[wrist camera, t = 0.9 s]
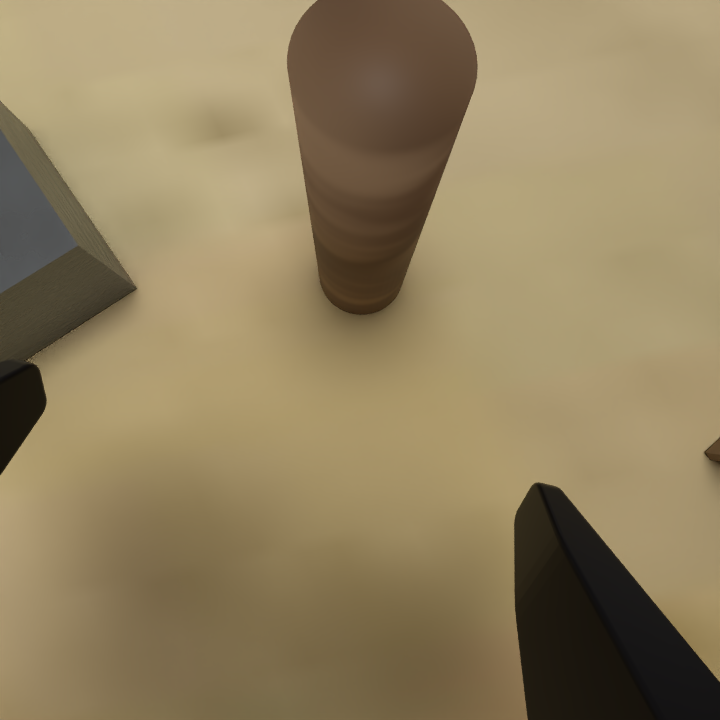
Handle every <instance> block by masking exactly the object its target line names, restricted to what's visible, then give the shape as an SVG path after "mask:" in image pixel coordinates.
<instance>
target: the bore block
mask: <svg viewBox="0 0 720 720" xmlns="http://www.w3.org/2000/svg"><path fill="white" fill-rule="evenodd" d="M135 289H137V288H136V286H135V285H134V283H133V282H132V280H131V279H130V277H129V276H128V274H127V273H126V271H125V270H124V268H123V267H122V265H121V264H120V263H119V261H118V260H117V258H116V257H115V255H114V254H113V252H112V251H111V249H110V248H109V246H108V245H107V243H106V242H105V240H104V239H103V238H102V236H101V235H100V233H99V232H98V230H97V229H96V227H95V226H94V224H93V223H92V221H91V220H90V218H89V217H88V215H87V214H86V212H85V211H84V210H83V208H82V207H81V205H80V204H79V202H78V201H77V199H76V198H75V196H74V195H73V193H72V192H71V190H70V189H69V187H68V186H67V185H66V183H65V182H64V180H63V179H62V177H61V176H60V174H59V173H58V171H57V170H56V168H55V167H54V165H53V164H52V162H51V161H50V159H49V158H48V157H47V155H46V154H45V152H44V151H43V149H42V148H41V146H40V145H39V143H38V142H37V140H36V139H35V137H34V136H33V134H32V133H31V132H30V130H29V129H28V128H27V127H26V126H25V125H24V124H23V123H22V122H21V121H20V120H19V119H18V118H17V117H16V116H15V115H14V114H13V113H12V112H11V111H10V110H9V109H8V108H7V107H6V106H5V105H4V104H3V103H2V102H1V101H0V362H2V361H5V360H9V359H16V360H20V361H24V360H26V359H28V358H29V357H31V356H32V355H34V354H35V353H37V352H38V351H40V350H42V349H43V348H45V347H46V346H48V345H49V344H51V343H52V342H54V341H56V340H57V339H59V338H60V337H62V336H63V335H65V334H66V333H68V332H70V331H71V330H73V329H74V328H76V327H77V326H79V325H81V324H82V323H84V322H85V321H87V320H88V319H90V318H91V317H93V316H95V315H96V314H98V313H99V312H101V311H102V310H104V309H105V308H107V307H109V306H110V305H112V304H113V303H115V302H116V301H118V300H119V299H121V298H123V297H124V296H126V295H127V294H129V293H130V292H132V291H133V290H135Z"/></svg>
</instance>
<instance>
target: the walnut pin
mask: <svg viewBox="0 0 720 720" xmlns="http://www.w3.org/2000/svg"><path fill="white" fill-rule="evenodd" d="M287 68H288V75H289V82H290V88H291V95H292V101H293V108H294V114H295V121H296V127H297V134H298V140H299V147H300V153H301V160H302V166H303V173H304V179H305V186H306V192H307V199H308V205H309V212H310V219H311V225H312V232H313V238H314V245H315V251H316V258H317V264H318V271H319V277H320V283H321V286H322V289H323V291H324V293H325V295H326V296H327V298H328V299H329V300H330V301H331V302H332V303H333V304H334V305H335V306H337V307H338V308H340V309H342V310H344V311H346V312H349V313H353V314H371V313H374V312H377V311H380V310H382V309H383V308H385V307H387V306H388V305H389V304H390V303H391V302H392V301H393V300H394V299H395V297H396V296H397V294H398V293H399V291H400V288H401V285H402V283H403V280H404V277H405V275H406V272H407V269H408V266H409V264H410V261H411V258H412V256H413V253H414V250H415V248H416V245H417V242H418V239H419V237H420V234H421V231H422V229H423V226H424V223H425V221H426V218H427V215H428V212H429V210H430V207H431V204H432V202H433V199H434V196H435V194H436V191H437V188H438V185H439V183H440V180H441V177H442V175H443V172H444V169H445V167H446V164H447V161H448V158H449V156H450V153H451V150H452V148H453V145H454V142H455V139H456V137H457V134H458V131H459V129H460V126H461V123H462V121H463V118H464V115H465V112H466V110H467V107H468V104H469V102H470V99H471V96H472V94H473V91H474V88H475V84H476V79H477V55H476V51H475V47H474V43H473V41H472V38H471V36H470V33H469V32H468V30H467V28H466V26H465V24H464V23H463V22H462V20H461V19H460V18H459V16H458V15H457V14H456V13H455V12H454V11H453V10H452V9H451V8H450V7H449V6H448V5H447V4H445V3H444V2H443V1H442V0H318V1H316V2H315V3H314V4H313V5H312V6H311V7H310V8H309V9H308V10H307V11H306V12H305V13H304V15H303V16H302V17H301V19H300V20H299V22H298V24H297V25H296V27H295V29H294V32H293V34H292V36H291V40H290V43H289V47H288V55H287Z"/></svg>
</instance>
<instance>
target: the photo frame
mask: <svg viewBox="0 0 720 720" xmlns="http://www.w3.org/2000/svg"><path fill="white" fill-rule="evenodd" d="M705 453H706V454H707V456H708V457H709V458H710V460H715V461H720V439H719V440H718V441H716V442H715V443H714V444H713V445H712V446H711V447H710V448H709V449H708V450H707V451H706V452H705Z"/></svg>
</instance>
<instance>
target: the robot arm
mask: <svg viewBox="0 0 720 720" xmlns="http://www.w3.org/2000/svg"><path fill="white" fill-rule="evenodd" d="M46 401H47V399H46V394H45V390H44V386H43V382H42V377H41V373H40V370H39V368H38V367H37V366H36V365H35V364H33V363H29V362H25V361H20V360H16V359H9V360H5V361H2V362H0V475H1V474H2V472H3V471H4V469H5V468H6V466H7V465H8V463H9V462H10V461H11V459H12V458H13V456H14V455H15V453H16V452H17V450H18V449H19V447H20V446H21V444H22V443H23V442H24V440H25V439H26V437H27V436H28V434H29V433H30V431H31V430H32V428H33V427H34V425H35V424H36V423H37V421H38V420H39V418H40V417H41V415H42V414H43V412H44V410H45V407H46ZM514 564H515V612H516V623H517V631H518V640H519V649H520V657H521V666H522V675H523V683H524V692H525V700H526V709H527V718H528V720H720V682H719V681H718V679H717V678H716V677H715V676H714V675H713V673H712V672H711V671H710V670H709V669H708V667H707V666H706V665H705V664H704V662H703V661H702V660H701V659H700V658H699V656H698V655H697V654H696V653H695V652H694V650H693V649H692V648H691V647H690V645H689V644H688V643H687V642H686V641H685V639H684V638H683V637H682V636H681V635H680V633H679V632H678V631H677V630H676V628H675V627H674V626H673V625H672V624H671V622H670V621H669V620H668V619H667V618H666V616H665V615H664V614H663V613H662V611H661V610H660V609H659V608H658V607H657V605H656V604H655V603H654V602H653V601H652V599H651V598H650V597H649V596H648V594H647V593H646V592H645V591H644V590H643V588H642V587H641V586H640V585H639V584H638V582H637V581H636V580H635V579H634V577H633V576H632V575H631V574H630V573H629V571H628V570H627V569H626V568H625V567H624V565H623V564H622V563H621V562H620V560H619V559H618V558H617V557H616V556H615V554H614V553H613V552H612V551H611V550H610V548H609V547H608V546H607V545H606V543H605V542H604V541H603V540H602V539H601V537H600V536H599V535H598V534H597V533H596V531H595V530H594V529H593V528H592V526H591V525H590V524H589V523H588V522H587V520H586V519H585V518H584V517H583V516H582V514H581V513H580V512H579V511H578V509H577V508H576V507H575V506H574V505H573V503H572V502H571V501H570V500H569V499H568V497H567V496H566V495H565V494H564V492H563V491H562V490H561V489H560V488H558V487H556V486H552V485H548V484H543V483H534V484H533V485H532V486H531V488H530V489H529V491H528V493H527V495H526V496H525V498H524V500H523V501H522V503H521V505H520V507H519V508H518V510H517V513H516V516H515V522H514Z"/></svg>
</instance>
